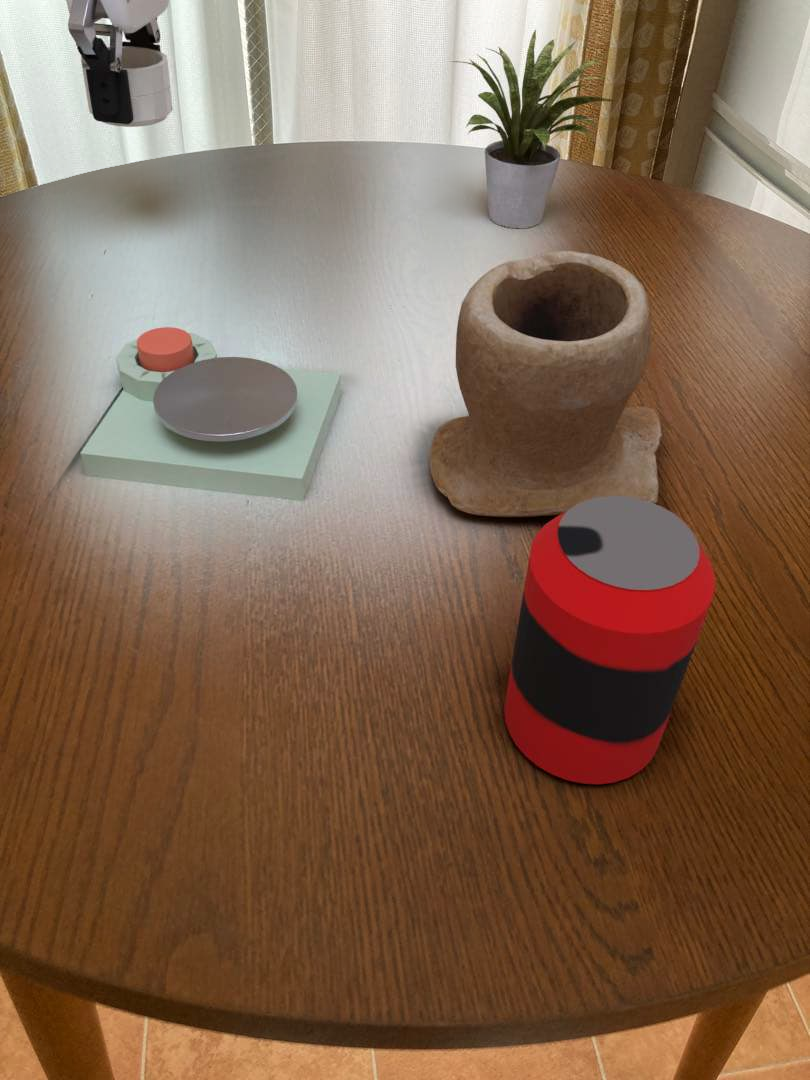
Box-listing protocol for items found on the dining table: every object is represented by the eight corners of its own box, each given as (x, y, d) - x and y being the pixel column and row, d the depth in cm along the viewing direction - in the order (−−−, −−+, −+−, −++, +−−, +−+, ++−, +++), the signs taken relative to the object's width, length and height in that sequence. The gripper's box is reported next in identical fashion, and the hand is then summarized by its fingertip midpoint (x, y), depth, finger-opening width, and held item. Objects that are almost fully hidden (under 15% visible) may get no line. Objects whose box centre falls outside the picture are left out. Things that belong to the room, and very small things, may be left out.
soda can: (492, 665, 48) (519, 483, 40) (636, 660, 48) (691, 479, 40) (516, 793, 42) (553, 611, 34) (678, 785, 43) (752, 605, 34)
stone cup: (439, 556, 54) (457, 324, 44) (422, 436, 62) (434, 220, 52) (693, 550, 55) (767, 322, 45) (641, 433, 63) (693, 221, 53)
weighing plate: (133, 433, 56) (131, 426, 55) (180, 356, 62) (179, 350, 62) (278, 449, 55) (277, 442, 55) (311, 370, 62) (310, 363, 61)
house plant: (486, 265, 82) (505, 66, 71) (408, 208, 91) (415, 23, 80) (611, 235, 88) (646, 46, 77) (526, 184, 96) (547, 8, 85)
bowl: (77, 123, 76) (67, 64, 73) (108, 99, 81) (100, 42, 78) (157, 132, 76) (150, 73, 73) (183, 107, 81) (178, 51, 78)
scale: (74, 475, 58) (62, 430, 56) (145, 370, 67) (137, 327, 65) (303, 502, 57) (301, 457, 54) (343, 391, 66) (342, 348, 64)
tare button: (132, 371, 62) (128, 351, 60) (150, 344, 64) (147, 324, 63) (184, 376, 61) (181, 356, 60) (201, 349, 64) (198, 329, 63)
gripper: (99, -138, 59) (137, 146, 71) (185, -162, 72) (205, 82, 84) (-13, -148, 60) (44, 136, 72) (92, -170, 73) (125, 74, 85)
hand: (130, 105), depth 78 cm, fingers closed on bowl, 6 cm apart
